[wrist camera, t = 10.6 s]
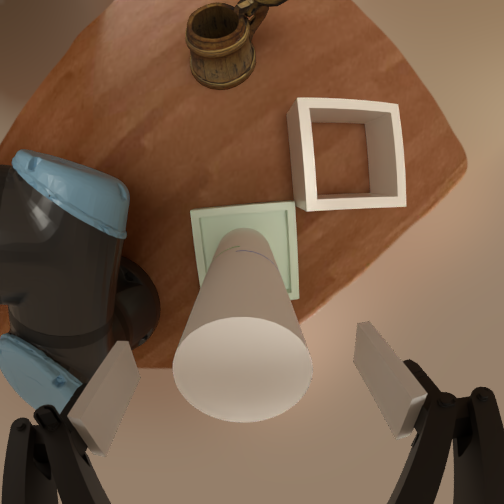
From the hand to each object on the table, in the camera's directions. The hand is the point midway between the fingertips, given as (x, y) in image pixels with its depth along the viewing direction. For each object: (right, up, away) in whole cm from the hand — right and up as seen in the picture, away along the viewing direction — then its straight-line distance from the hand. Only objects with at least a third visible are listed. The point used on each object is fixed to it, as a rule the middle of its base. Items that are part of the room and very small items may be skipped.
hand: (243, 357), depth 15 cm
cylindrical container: (-1, +5, +23) cm, 24 cm away
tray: (0, +6, +24) cm, 24 cm away
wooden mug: (-2, +33, +17) cm, 37 cm away
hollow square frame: (+12, +18, +21) cm, 30 cm away
